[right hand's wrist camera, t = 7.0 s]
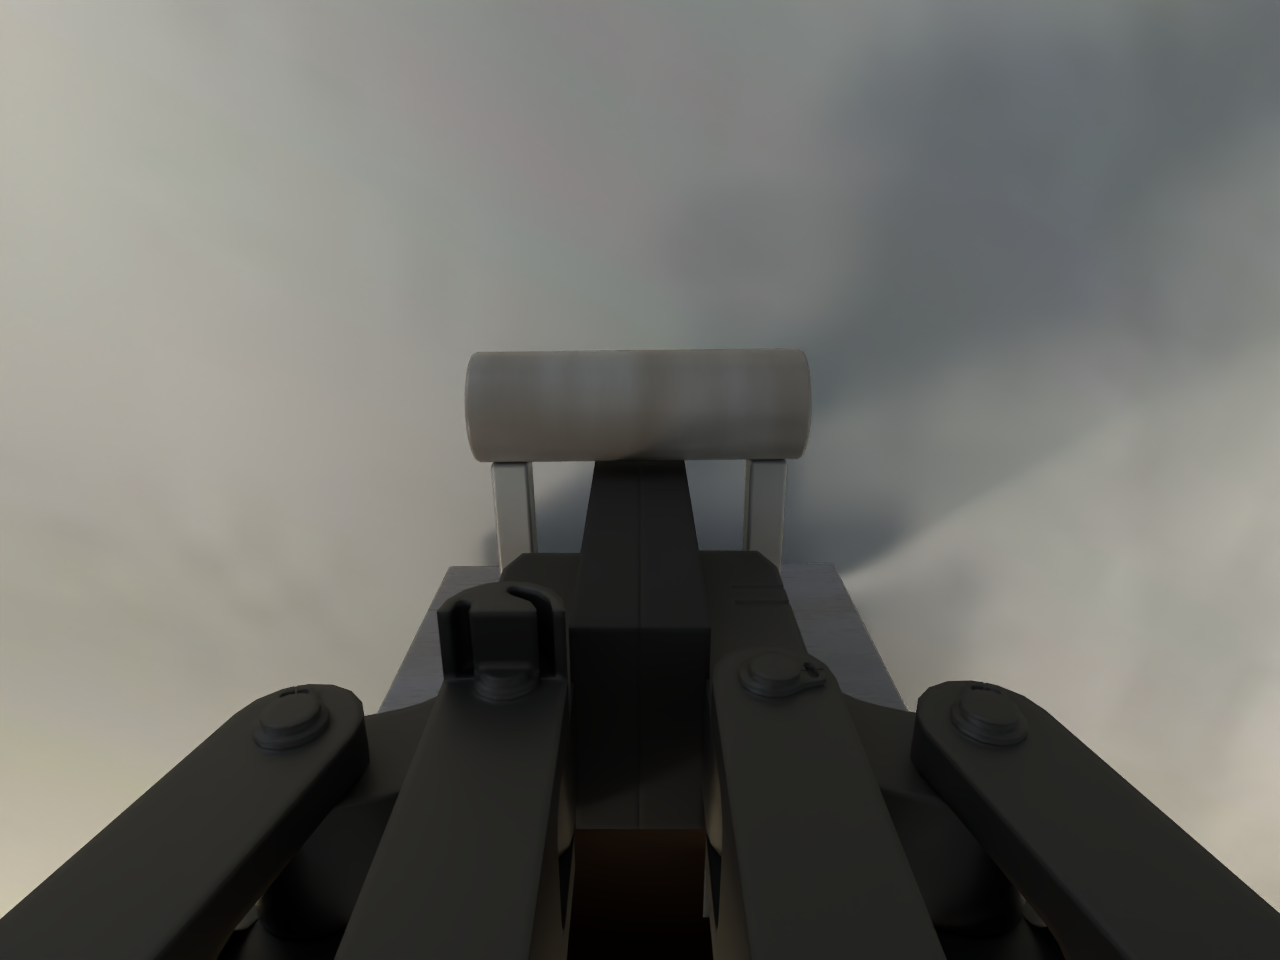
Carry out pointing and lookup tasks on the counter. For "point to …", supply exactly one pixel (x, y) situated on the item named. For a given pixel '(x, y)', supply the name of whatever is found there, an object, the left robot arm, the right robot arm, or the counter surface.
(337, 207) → the counter surface
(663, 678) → the right robot arm
